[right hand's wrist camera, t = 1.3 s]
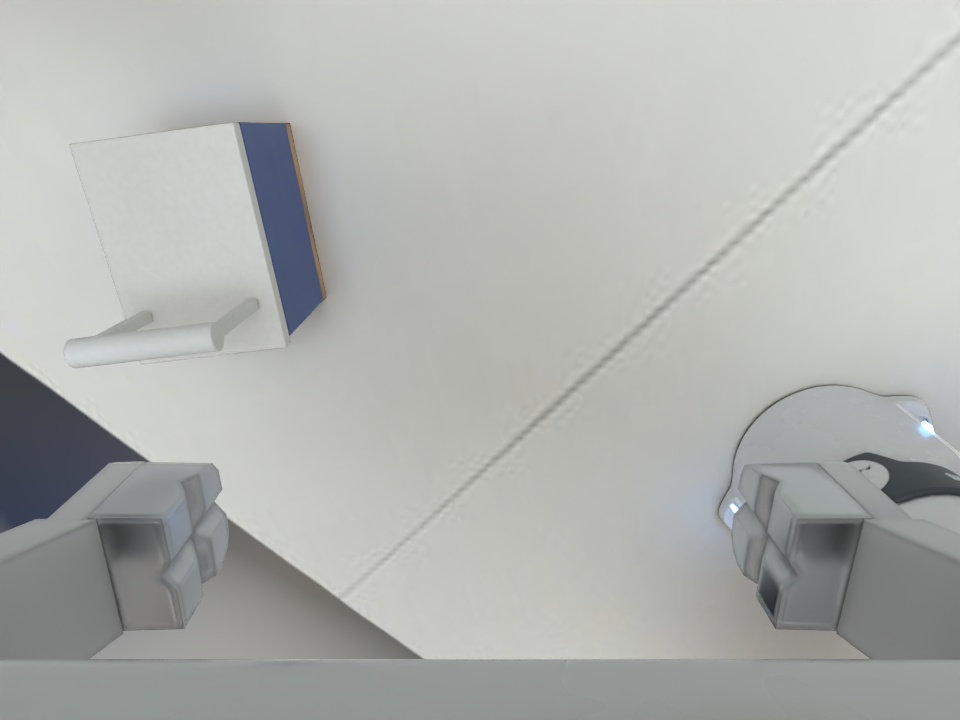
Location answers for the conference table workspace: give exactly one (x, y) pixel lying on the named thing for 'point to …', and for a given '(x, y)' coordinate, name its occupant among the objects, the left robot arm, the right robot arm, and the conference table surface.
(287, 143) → the chest
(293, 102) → the conference table surface
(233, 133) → the lid
